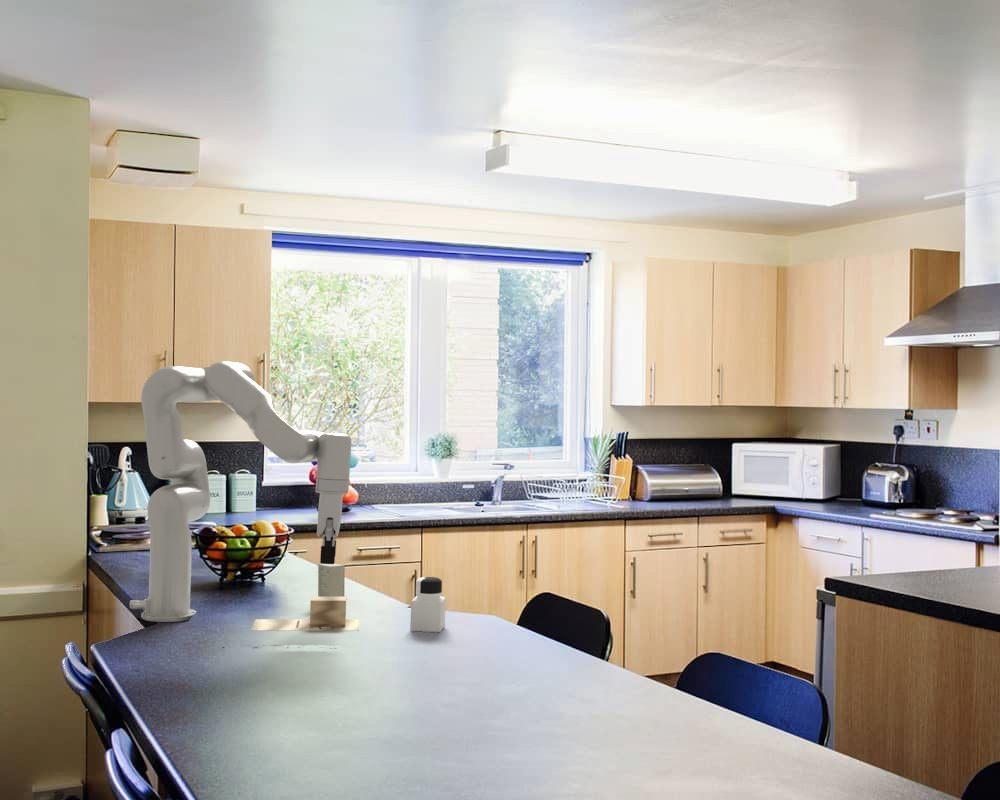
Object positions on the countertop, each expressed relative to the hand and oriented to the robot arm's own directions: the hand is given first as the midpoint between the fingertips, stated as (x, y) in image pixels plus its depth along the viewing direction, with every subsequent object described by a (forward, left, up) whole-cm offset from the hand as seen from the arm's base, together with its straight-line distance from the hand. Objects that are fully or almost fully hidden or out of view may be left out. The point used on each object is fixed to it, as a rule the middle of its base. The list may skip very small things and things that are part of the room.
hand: (327, 560), depth 243 cm
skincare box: (+1, +20, -16) cm, 26 cm away
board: (-4, 0, -16) cm, 17 cm away
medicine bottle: (+24, +1, -16) cm, 29 cm away
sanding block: (0, 0, -15) cm, 15 cm away
